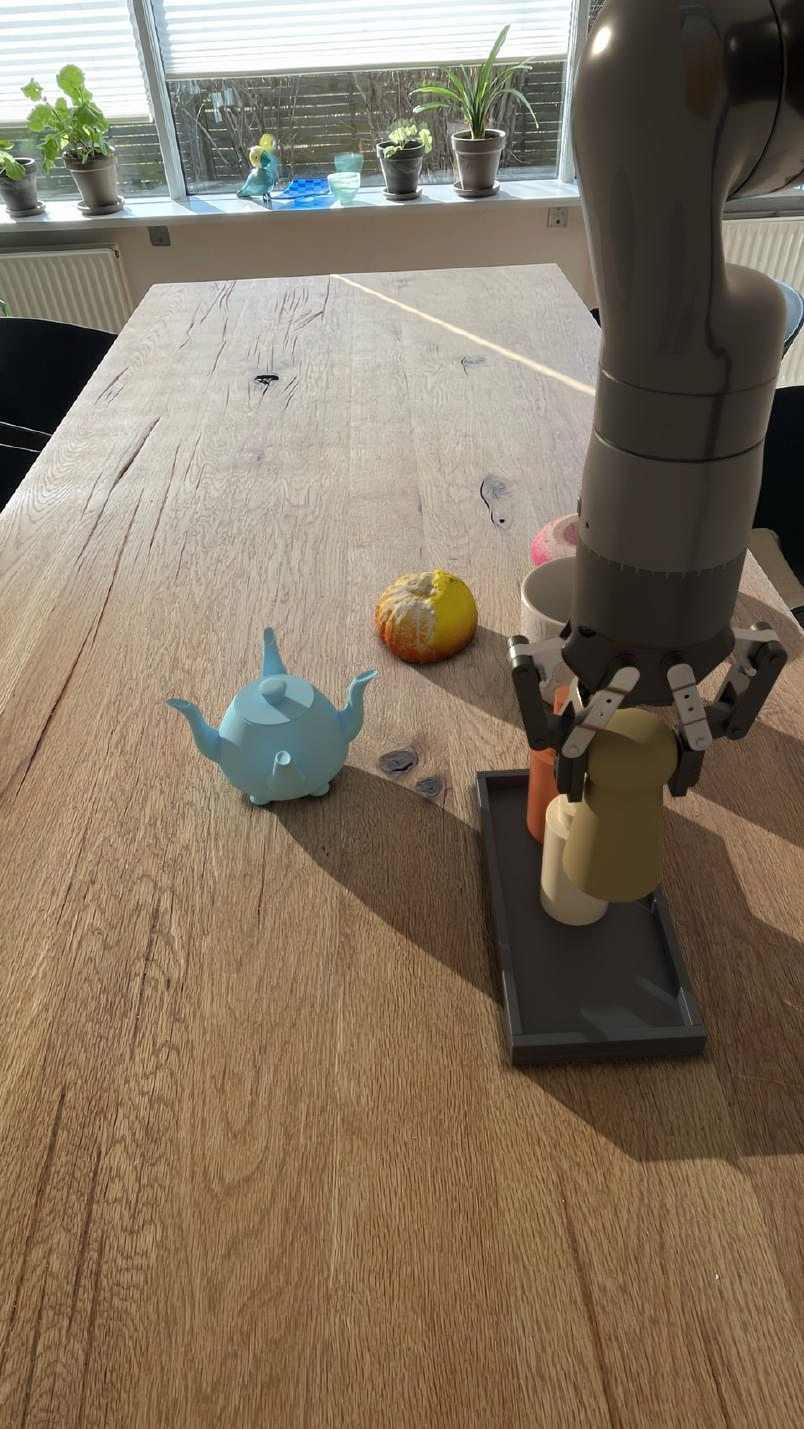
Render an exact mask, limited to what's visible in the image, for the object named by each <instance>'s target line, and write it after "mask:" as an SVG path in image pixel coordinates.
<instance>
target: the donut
mask: <svg viewBox="0 0 804 1429" xmlns="http://www.w3.org/2000/svg"><path fill="white" fill-rule="evenodd" d="M578 522H579V518H578V513H577V512H573V513H570V514H566V515H563V516H560V517H558V518H556V519H555V520H552V521H551V522H549V523H547V524H545V525H544V526H543V527H542V528H541V529H540V530H539V532H538V533H537V535H536V537H534V538H535V539H534V540H533V542H532V546H531V560H532V563H533V565H534V567H535V568H536V567H537V566H539V565H541V564H543V563H545V562H548V561H550V560H553V559H557V558H561V557H566V556H574V555H576V546H577V534H578Z"/></svg>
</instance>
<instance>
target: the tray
mask: <svg viewBox="0 0 804 1429" xmlns="http://www.w3.org/2000/svg"><path fill="white" fill-rule="evenodd" d="M529 769H530V767H529V768H511V769H496V770H495V769H494V770H493V769H492V770H477V771H475V776H474V777H475V779H474V781H475V786H474V788H475V790H474V791H475V798H476V806H477V813H478V820H479V821H478V822H479V828H480V835H481V836H480V838H481V844H482V851H483V859H484V867H485V873H486V874H485V875H486V881H487V882H486V883H487V889H488V890H487V891H488V898H489V904H490V911H491V920H492V926H493V935H494V942H495V949H496V956H497V957H496V958H497V964H498V972H499V980H500V988H501V994H502V995H501V996H502V1003H503V1010H504V1017H505V1018H504V1019H505V1024H506V1025H505V1026H506V1032H507V1040H508V1047H509V1048H508V1049H509V1054H510V1062H511V1065H512V1066H517V1065H534V1064H551V1063H552V1064H553V1063H571V1062H590V1061H591V1062H592V1061H606V1060H607V1061H609V1060H626V1059H643V1058H659V1057H662V1058H663V1057H679V1056H681V1057H682V1056H697V1055H698V1056H699V1055H702V1054H703V1052H704V1048H705V1045H706V1042H707V1039H708V1033H707V1030H706V1026H705V1024H704V1021H703V1017H702V1014H701V1011H700V1008H699V1005H698V1001H697V997H696V994H695V991H694V988H693V985H692V982H691V978H690V975H689V972H688V968H687V965H686V962H685V959H684V955H683V953H682V950H681V946H680V943H679V940H678V936H677V933H676V930H675V927H674V924H673V920H672V917H671V914H670V911H669V906H668V904H667V901H666V898H665V893H664V891H663V887H662V885H661V881H660V882H659V884H658V886H657V887H656V889H655V890H653V891H652V892H651V893H649V894H648V895H647V896H645V897H643V898H640V899H637V900H634V901H631V902H615V903H614V902H609V906H608V909H607V911H606V913H605V914H604V915H603V916H602V917H601V918H600V919H599V920H597V921H596V922H593V923H591V924H588V925H582V926H573V925H568V924H564V923H561V922H559V921H557V920H555V919H554V918H552V917H551V916H550V915H549V914H548V913H547V912H546V911H545V910H544V908H543V906H542V904H541V901H540V883H541V871H542V858H543V845H542V844H540V843H539V842H537V841H536V840H535V839H534V838H533V837H532V836H531V835H530V833H529V832H528V829H527V825H526V820H527V803H528V786H529Z"/></svg>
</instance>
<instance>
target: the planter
mask: <svg viewBox="0 0 804 1429" xmlns="http://www.w3.org/2000/svg"><path fill="white" fill-rule="evenodd" d="M575 558H576V555H574V556H566V557H561V558H557V559H553V560H550V561H548V562H545V563H543V564H541V565H539V566H537V567H535V568H533V569H532V570H530V571H529V573H528V574H527V575H526V576H525V578H524V579H523V581H522V584H521V587H520V635H523V636H525V637H527V638H528V640H529V643H535V642H539V641H543V640H548V639H552V638H556V637H559V633H560V631H561V629H562V628H563V626H564V625H565V624H566V622H567V621H568V619H569V616H570V613H571V605H572V593H573V582H574V570H575ZM574 677H575V674H574V673H573V672H572V671H571V669H570V668H569V667H568V666H567V665H566V664H565V662H562V663H560V664H558V665H557V666H556V667H555V668H554V670H553V678H552V679H551V681H550V682H549V683H548V686H547V687H546V688H543V689H542V688H540V691H541V696H542V700H543V702H545V703H547V704H549V705H551V706H552V707H554V699H555V692H556V691H557V690H558V689H559V688H561V687H563V686H570V684H571V682H572V680H573V678H574Z"/></svg>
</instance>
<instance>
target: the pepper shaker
mask: <svg viewBox="0 0 804 1429" xmlns="http://www.w3.org/2000/svg"><path fill="white" fill-rule="evenodd" d="M671 729H672V727H670V726H669V725H668V723H667V722H666V721H665V720H664V719H663V718H661V717H660V716H658V715H656V714H655V713H653V712H650V711H647V710H644V709H642V708H635V707H632V708H628V709H616V711H615V713H614V714H613V716H612V717H611V719H610V720H609V722H608V724H607V725H606V727H605V728H604V730H603V731H597V732H596V733H595V735H594V737H593V738H592V740H591V741H590V743H589V745H588V746H587V748H586V749H585V752H586V756H587V761H586V770H585V773H586V774H587V775H586V778H585V781H584V788H583V797H582V802H578V805H577V808H576V812H575V815H574V818H573V822H572V825H571V828H570V832H569V835H568V839H567V842H566V845H565V849H564V853H563V858H562V861H563V867H564V871H565V873H566V875H567V876H568V878H569V879H570V881H571V883H573V884H574V885H575V886H576V887H577V888H578V889H580V890H581V891H582V892H583V893H585V894H587V895H590V896H592V897H594V898H596V899H599V900H604V901H609V902H614V903H615V902H631V901H634V900H637V899H640V898H643V897H645V896H647V895H648V894H649V893H651V892H652V891H653V890H655V889H656V887H657V886H658V884H659V882H660V883H661V881H662V879H663V872H664V786H665V785H667V781H668V780H669V778H670V777H671V775H672V774H673V772H674V770H675V768H676V764H677V758H678V744H677V741H676V738H675V735H674V733H673V731H672V730H671Z"/></svg>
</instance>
